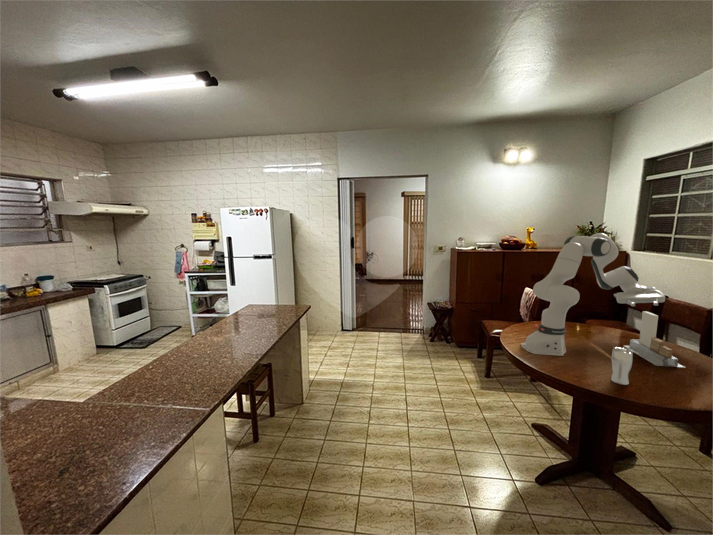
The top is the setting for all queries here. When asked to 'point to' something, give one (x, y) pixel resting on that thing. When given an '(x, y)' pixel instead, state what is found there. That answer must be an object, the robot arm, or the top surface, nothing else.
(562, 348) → the robot arm
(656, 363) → the slot rack
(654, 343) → the tall offcut
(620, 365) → the beer glass
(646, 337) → the tall panel
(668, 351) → the short offcut
